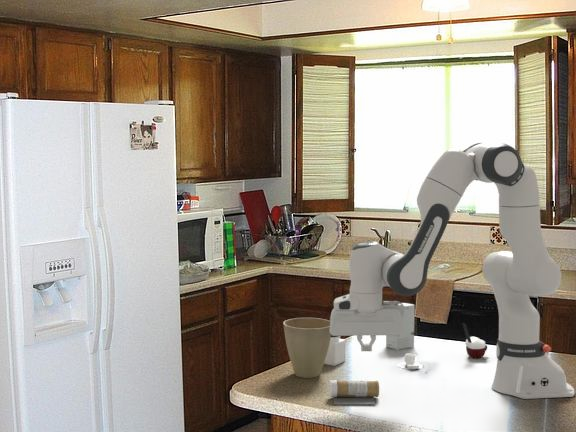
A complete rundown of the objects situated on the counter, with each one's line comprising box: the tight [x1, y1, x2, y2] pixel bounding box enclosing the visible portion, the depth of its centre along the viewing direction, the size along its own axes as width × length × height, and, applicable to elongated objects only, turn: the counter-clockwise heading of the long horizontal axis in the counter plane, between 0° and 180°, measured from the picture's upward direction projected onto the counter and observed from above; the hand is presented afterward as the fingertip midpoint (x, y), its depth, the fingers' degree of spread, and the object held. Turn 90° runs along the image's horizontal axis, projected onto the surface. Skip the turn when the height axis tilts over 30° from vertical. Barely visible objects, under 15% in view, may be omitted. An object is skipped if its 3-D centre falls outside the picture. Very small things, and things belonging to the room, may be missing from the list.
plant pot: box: [282, 317, 331, 379], centre depth 254 cm, size 15×15×16 cm
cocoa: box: [461, 322, 488, 360], centre depth 274 cm, size 10×6×12 cm, turn 94°
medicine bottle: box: [323, 335, 347, 367], centre depth 268 cm, size 7×7×12 cm
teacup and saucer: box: [397, 352, 424, 370], centre depth 264 cm, size 9×8×4 cm
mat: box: [333, 397, 376, 407], centre depth 233 cm, size 11×17×1 cm, turn 178°
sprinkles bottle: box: [328, 379, 380, 398], centre depth 231 cm, size 5×5×14 cm
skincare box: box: [385, 302, 416, 351], centre depth 288 cm, size 8×6×15 cm
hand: (366, 350), depth 231 cm, fingers closed
